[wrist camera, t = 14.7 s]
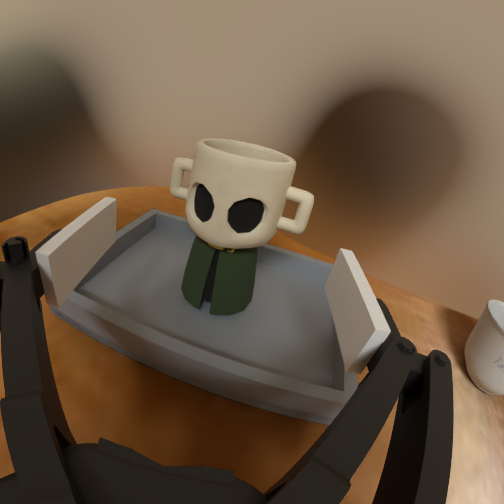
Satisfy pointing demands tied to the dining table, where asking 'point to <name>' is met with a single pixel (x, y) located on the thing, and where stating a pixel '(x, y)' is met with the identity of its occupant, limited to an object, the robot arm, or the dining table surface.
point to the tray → (217, 322)
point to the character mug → (233, 217)
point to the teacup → (487, 350)
